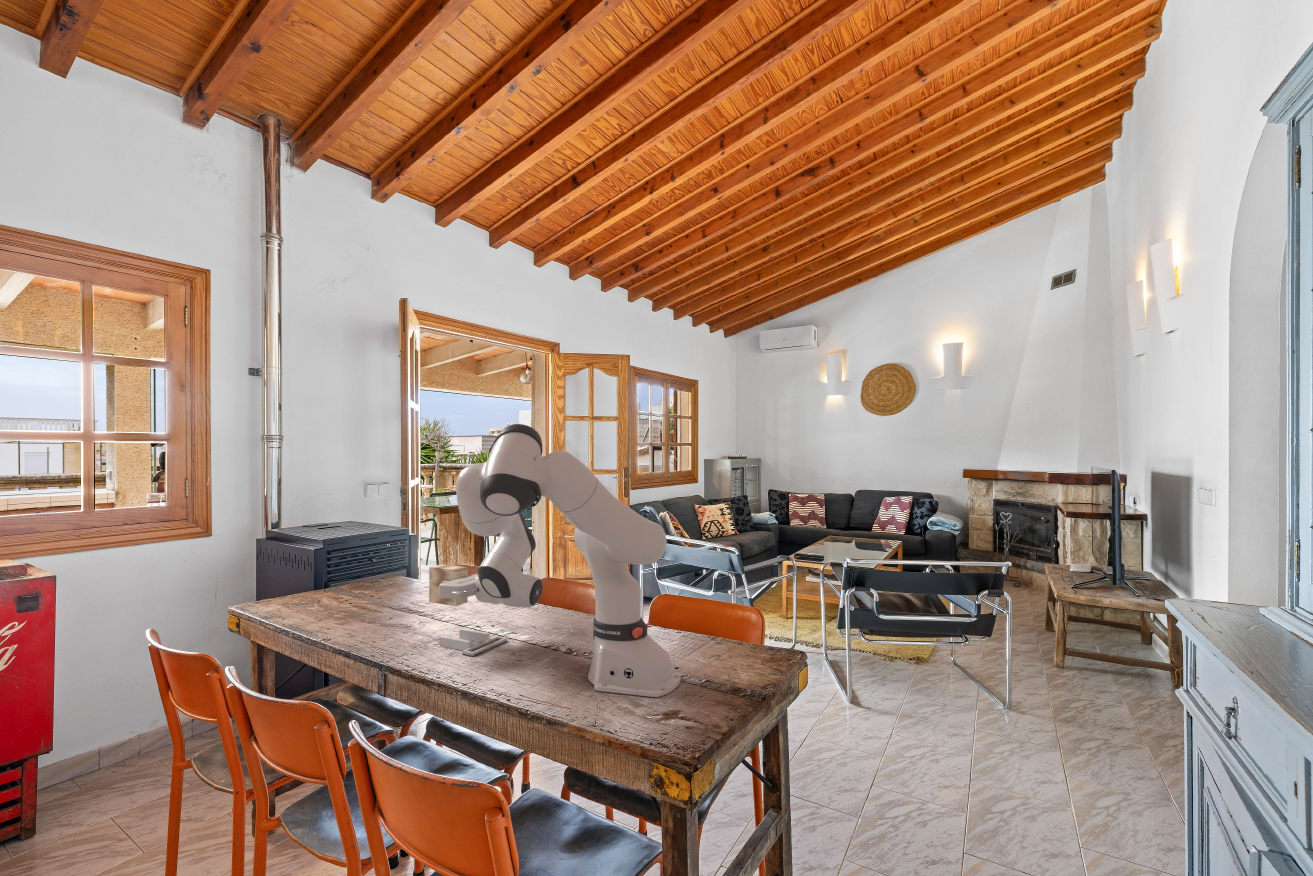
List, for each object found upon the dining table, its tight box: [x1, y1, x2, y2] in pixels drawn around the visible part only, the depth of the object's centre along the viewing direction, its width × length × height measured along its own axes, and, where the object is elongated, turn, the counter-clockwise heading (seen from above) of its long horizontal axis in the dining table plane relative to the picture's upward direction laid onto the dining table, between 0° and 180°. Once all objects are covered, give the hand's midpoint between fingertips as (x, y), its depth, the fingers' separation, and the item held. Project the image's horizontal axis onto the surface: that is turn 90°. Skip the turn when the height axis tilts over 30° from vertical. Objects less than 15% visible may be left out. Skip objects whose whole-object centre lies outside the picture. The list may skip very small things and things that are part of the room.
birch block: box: [428, 564, 469, 607], centre depth 169 cm, size 10×4×10 cm, turn 66°
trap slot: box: [461, 635, 508, 657], centre depth 163 cm, size 4×14×1 cm, turn 156°
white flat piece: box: [439, 627, 491, 651], centre depth 166 cm, size 10×9×2 cm
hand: (451, 581), depth 169 cm, fingers closed on birch block, 4 cm apart
